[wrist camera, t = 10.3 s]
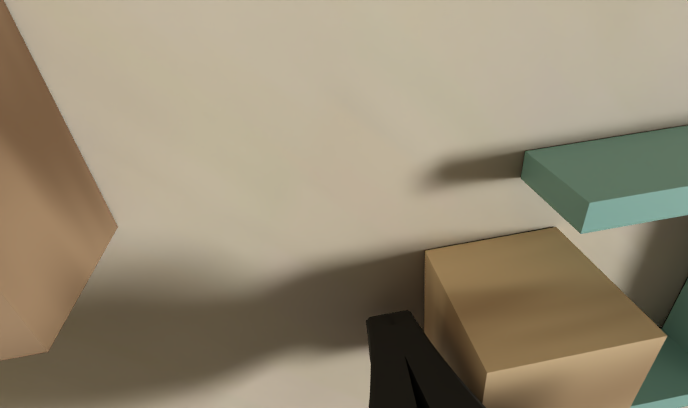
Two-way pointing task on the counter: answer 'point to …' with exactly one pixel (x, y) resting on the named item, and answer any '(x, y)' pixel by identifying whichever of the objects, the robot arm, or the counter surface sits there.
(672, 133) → the u-shaped bracket
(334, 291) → the counter surface
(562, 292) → the oak block
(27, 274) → the bored block
